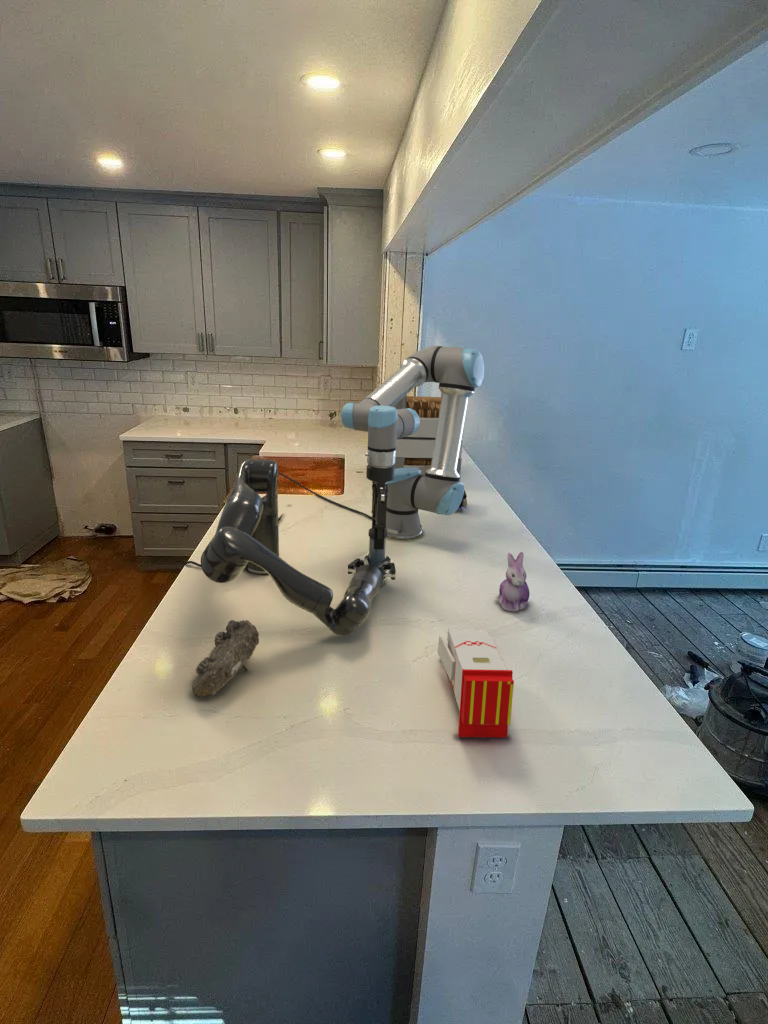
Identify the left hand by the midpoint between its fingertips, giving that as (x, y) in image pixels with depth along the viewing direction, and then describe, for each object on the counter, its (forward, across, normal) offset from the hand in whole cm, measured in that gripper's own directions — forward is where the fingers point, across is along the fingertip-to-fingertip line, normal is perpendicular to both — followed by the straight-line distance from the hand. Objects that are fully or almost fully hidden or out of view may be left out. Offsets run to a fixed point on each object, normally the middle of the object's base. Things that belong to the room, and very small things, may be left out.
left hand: (378, 558), depth 164 cm
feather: (+39, -45, -7) cm, 60 cm away
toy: (-46, +30, -7) cm, 55 cm away
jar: (-3, 0, -7) cm, 7 cm away
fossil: (-52, -21, -7) cm, 56 cm away
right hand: (-3, 0, +5) cm, 6 cm away
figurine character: (+72, +17, -7) cm, 74 cm away
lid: (-3, 0, +9) cm, 10 cm away
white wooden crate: (+117, -5, -7) cm, 117 cm away
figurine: (-5, +39, -7) cm, 40 cm away
